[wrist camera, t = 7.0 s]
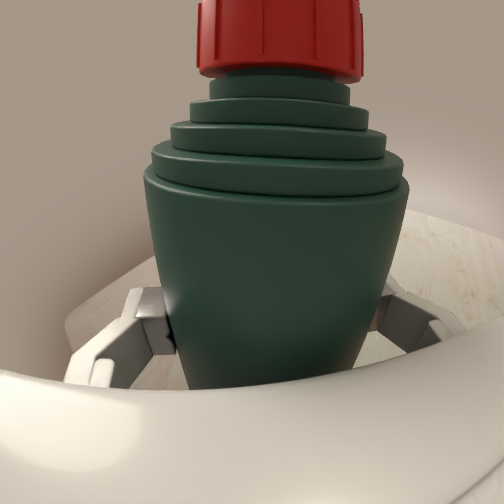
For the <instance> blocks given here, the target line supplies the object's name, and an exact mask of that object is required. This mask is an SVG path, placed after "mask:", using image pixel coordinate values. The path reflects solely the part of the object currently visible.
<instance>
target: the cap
mask: <svg viewBox="0 0 504 504" xmlns="http://www.w3.org/2000/svg"><path fill="white" fill-rule="evenodd" d="M197 22H198V23H197V62H196V64H197V65H196V67H197V68H199V72H200V74H201V75H203V76H206V77H209V78H217V79H218V78H222V77H226V73H227V72H229V71H233V70H238V69H245V68H257V67H281V68H295V69H304V70H310V71H316V72H320V73H324V74H327V75H330V76H332V77H334V79H335V81H334V82H338V83H341V84H351V83H356V82H359V81H360V79H361V77H363V65H364V64H363V62H364V61H363V60H364V59H363V58H364V57H363V56H364V53H363V18H362V14H361V13H360V7H359V0H201V3H199V4H198V21H197Z"/></svg>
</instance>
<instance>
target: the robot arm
mask: <svg viewBox="0 0 504 504" xmlns="http://www.w3.org/2000/svg"><path fill="white" fill-rule="evenodd" d="M377 330H378V332H379V333H381V334H382V335H383V336H385V337H386V338H388V339H389V340H390V341H392V342H393V343H394V344H396V345H397V346H398V347H400V348H401V349H402V350H404V351H405V352H406V353H407V354H404V355H401V356H398V357H394V358H391V359H388V360H384V361H381V362H377V363H373V364H370V365H366V366H362V367H358V368H354V369H350V370H345V371H341V372H336V373H332V374H327V375H322V376H316V377H311V378H305V379H300V380H293V381H287V382H280V383H273V384H265V385H256V386H247V387H236V388H223V389H205V390H136V389H129V387H130V386H131V384H132V383H133V382H134V380H135V379H136V378H137V377H138V375H139V374H140V373H141V371H142V370H143V369H144V368H145V366H146V365H147V364H148V362H149V361H150V360H151V359H152V357H153V355H170V354H176V349H177V347H176V343H175V340H174V336H173V332H172V328H171V324H170V320H169V316H168V312H167V308H166V304H165V300H164V295H163V291H162V287H146V288H132V289H130V291H129V294H128V297H127V300H126V303H125V306H124V309H123V312H122V315H121V318H116V319H115V320H114V321H113V322H111V323H110V324H109V325H108V326H107V327H105V328H104V329H103V330H102V331H101V332H99V333H98V334H97V335H96V336H94V337H93V338H92V339H91V340H90V341H88V342H87V343H86V344H85V345H84V346H83V347H81V348H80V349H79V350H78V351H77V352H75V353H74V354H73V355H72V357H71V360H70V363H69V366H68V369H67V372H66V375H65V378H64V381H63V382H58V381H53V380H47V379H42V378H37V377H32V376H27V375H23V374H19V373H15V372H10V371H7V370H3V369H0V504H504V314H502V315H500V316H498V317H496V318H494V319H492V320H490V321H488V322H486V323H484V324H482V325H480V326H477V327H475V328H473V329H471V330H468V331H467V330H466V329H465V327H464V326H463V325H462V324H461V322H460V321H459V320H458V319H457V318H456V316H455V315H454V314H453V313H451V312H449V311H447V310H445V309H443V308H441V307H439V306H437V305H435V304H433V303H431V302H429V301H427V300H425V299H423V298H421V297H419V296H417V295H414V294H412V293H410V292H405V291H404V290H403V289H402V287H401V286H400V285H399V284H398V283H397V282H396V281H395V279H394V278H393V277H392V276H391V275H390V274H388V277H387V280H386V283H385V286H384V289H383V292H382V295H381V298H380V301H379V304H378V306H377V309H376V312H375V315H374V317H373V320H372V323H371V325H370V328H369V330H368V332H371V331H377Z"/></svg>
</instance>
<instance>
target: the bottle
mask: <svg viewBox="0 0 504 504" xmlns="http://www.w3.org/2000/svg"><path fill="white" fill-rule="evenodd" d="M334 81H335V79H334V77H332V76H330V75H327V74H324V73H320V72H316V71H310V70H304V69H295V68H281V67H257V68H245V69H238V70H233V71H229V72H227V73H226V77H222V78H218V79H215V80H212V81H211V82H210V99H209V100H200V101H194V102H191V103H190V121H183V122H178V123H174V124H172V125H171V127H170V130H171V140H167V141H164V142H162V143H160V144H158V145H156V146H154V147H153V149H152V152H151V154H152V164H151V165H149V166H148V167H147V168H146V169H145V172H144V176H143V177H144V186H145V192H146V193H145V194H146V201H147V209H148V215H149V222H150V228H151V234H152V240H153V246H154V252H155V257H156V262H157V267H158V272H159V277H160V282H161V286H162V291H163V295H164V300H165V304H166V308H167V312H168V316H169V320H170V324H171V328H172V332H173V336H174V340H175V343H176V347H177V350H178V354H179V357H180V361H181V364H182V367H183V371H184V374H185V377H186V380H187V384H188V387H189V390H205V389H223V388H236V387H247V386H256V385H265V384H273V383H280V382H287V381H293V380H300V379H305V378H311V377H316V376H322V375H327V374H332V373H336V372H341V371H345V370H350V369H352V368H353V365H354V363H355V361H356V359H357V356H358V354H359V352H360V350H361V347H362V345H363V343H364V340H365V338H366V335H367V333H368V330H369V328H370V325H371V323H372V320H373V317H374V315H375V312H376V309H377V306H378V304H379V301H380V298H381V295H382V292H383V289H384V286H385V283H386V280H387V277H388V274H389V270H390V267H391V264H392V260H393V257H394V253H395V250H396V246H397V242H398V239H399V235H400V231H401V227H402V222H403V218H404V214H405V209H406V204H407V200H408V194H409V185H408V182H407V181H406V179H405V178H404V177H403V176H402V172H403V166H404V164H403V161H402V159H401V158H399V157H398V156H397V155H395V154H393V153H391V152H389V151H387V150H385V147H386V135H385V134H383V133H381V132H378V131H374V130H370V129H368V117H369V112H368V111H367V110H365V109H362V108H357V107H352V106H349V105H350V88H349V87H348V86H346V85H344V84H341V83H338V82H334Z"/></svg>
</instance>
